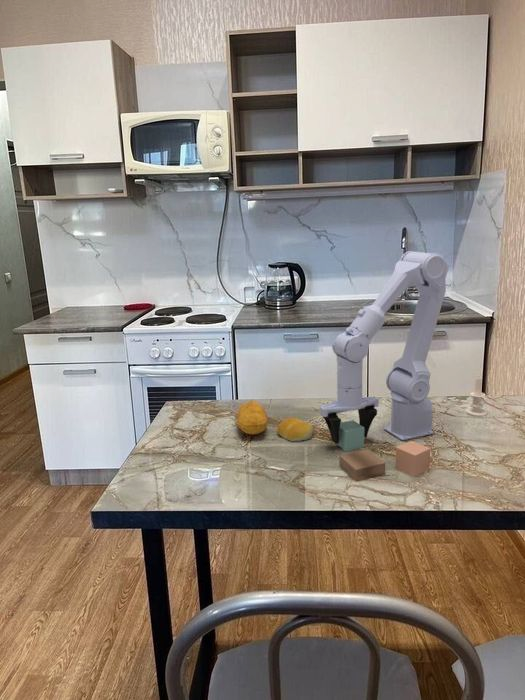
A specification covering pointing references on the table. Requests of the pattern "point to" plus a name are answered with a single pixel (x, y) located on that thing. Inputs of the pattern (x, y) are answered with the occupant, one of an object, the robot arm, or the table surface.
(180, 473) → the table surface
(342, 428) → the teal cube
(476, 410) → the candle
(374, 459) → the walnut block
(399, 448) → the terracotta cube
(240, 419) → the orange oval lump
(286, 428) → the bread roll
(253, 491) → the table surface
